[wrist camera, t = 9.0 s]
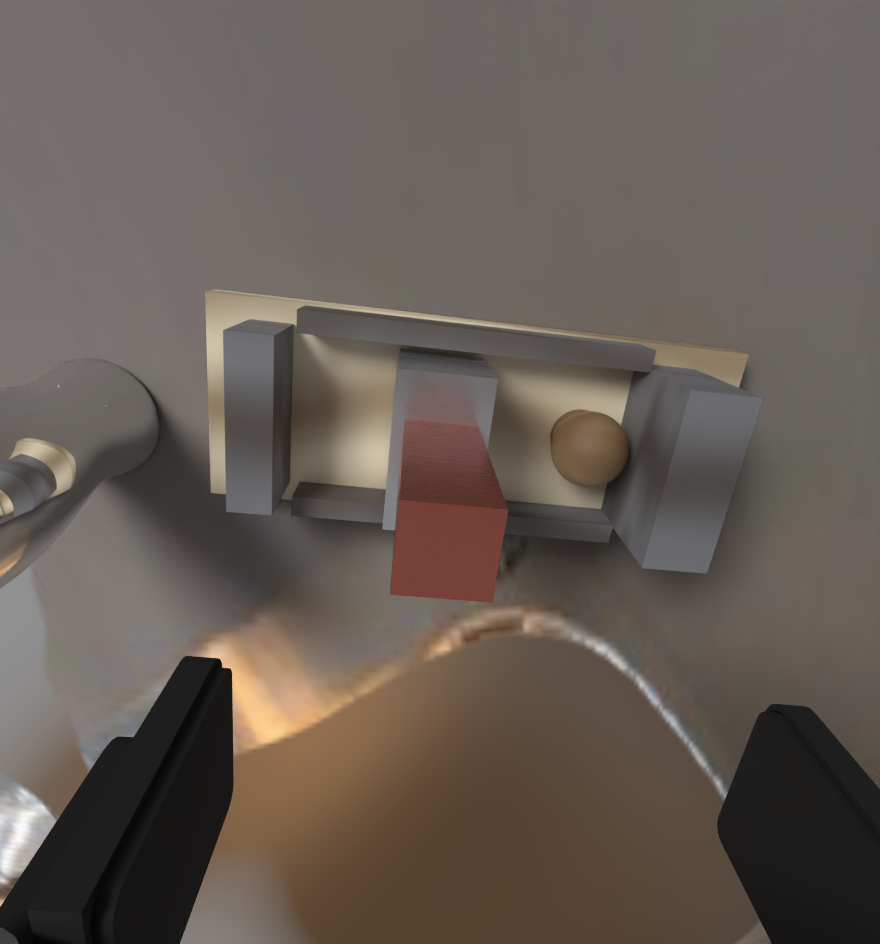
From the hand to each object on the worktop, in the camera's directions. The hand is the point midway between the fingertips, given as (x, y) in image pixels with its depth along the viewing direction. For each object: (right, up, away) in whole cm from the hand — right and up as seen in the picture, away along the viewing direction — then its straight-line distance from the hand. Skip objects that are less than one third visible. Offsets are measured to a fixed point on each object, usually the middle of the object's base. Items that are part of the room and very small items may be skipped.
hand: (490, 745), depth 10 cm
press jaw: (-1, +7, +18) cm, 20 cm away
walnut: (+6, +7, +19) cm, 21 cm away
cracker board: (+1, +8, +20) cm, 22 cm away
